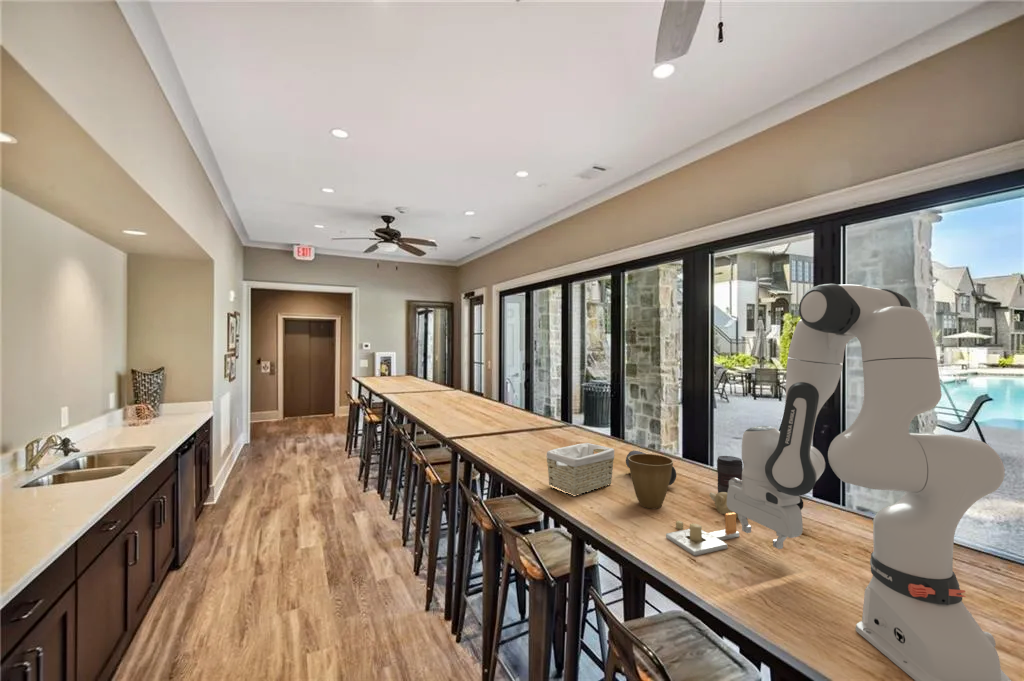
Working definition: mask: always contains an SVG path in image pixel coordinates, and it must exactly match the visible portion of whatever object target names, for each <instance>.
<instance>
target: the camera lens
mask: <svg viewBox="0 0 1024 681" xmlns="http://www.w3.org/2000/svg"><path fill="white" fill-rule="evenodd" d="M742 470H743V461H742V458H740V457H737V456H734V455H733V456H732V455H719V456H717V460H716V472H717V494H718V493H720V492H727V493H728V488H729V480H730V479H732V478H737V479H739V480H742Z"/></svg>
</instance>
